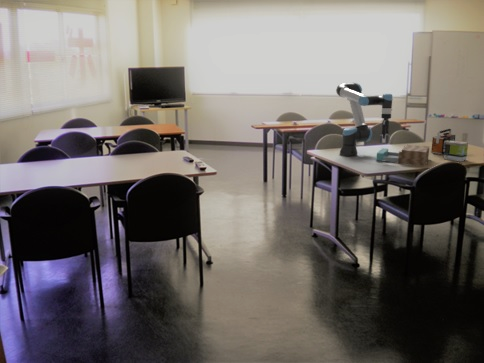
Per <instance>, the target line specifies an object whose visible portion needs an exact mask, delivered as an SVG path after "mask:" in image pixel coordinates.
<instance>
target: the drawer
mask: <svg viewBox="0 0 484 363" xmlns="http://www.w3.org/2000/svg"><path fill="white" fill-rule="evenodd" d="M398 157H399V152H391V151H389V148H384V147H382V148H381V149H380V150H379V151H378V152H377V153H376V158H375V159H376V160H375V161H379V162H392V163H398Z"/></svg>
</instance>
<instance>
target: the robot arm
mask: <svg viewBox="0 0 484 363" xmlns="http://www.w3.org/2000/svg"><path fill="white" fill-rule="evenodd" d="M335 91H336V95H338V96H339V97H341V98H346V99H347V101H349V104H350V109H351V112H352V117H353V121H354V125H355V126H351V127H345V128H344V129H343V131H342V141H341V143H342V145H341V147H340V150H339V155H340V156H342V155H343V157H356V156H358V154H359V152H358V149H357V143H366V142H369V141H371V139H372V137H373V130H372V128H369V126H368V124H367V123H366V121H365V117H364V112H363V109H362V107H363V106H364V107H366V106H367V107H368V106H381V118H382V119H383V121H382V122H381V124H382V125H381V126H382V127H381V134H382V144H383V143H384V144H387V143H386V135H390V134H389V129H390V120H389V119H391V118H392V111H393V109H392V108H393V100H394V99H393V94H391V93H383V94H382V95H366V94H363V93H362V92H363V88H362V86H361V84H359V83H358V82H343V83H340V84H338V86H336V90H335Z"/></svg>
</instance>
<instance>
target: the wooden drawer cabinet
mask: <svg viewBox="0 0 484 363" xmlns="http://www.w3.org/2000/svg"><path fill="white" fill-rule="evenodd" d="M398 153H399V157H398V162H397V164H401V165H402V164H403V165H411V166H419V167H420V166H421V167H422V166H423V167H424V166H425V165H426V164H427V163H428V161H429V155H430V146H428V145H417V144H415V145H414V144H406V145H405V146H403V148H402V150H401V151H398Z"/></svg>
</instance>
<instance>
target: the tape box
mask: <svg viewBox="0 0 484 363" xmlns="http://www.w3.org/2000/svg"><path fill="white" fill-rule="evenodd" d="M390 141H391V134H388V135H386V143H385V144H390ZM379 143H380V144H381V143H382V133H381V134H380V135H379ZM382 144H383V143H382Z"/></svg>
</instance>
